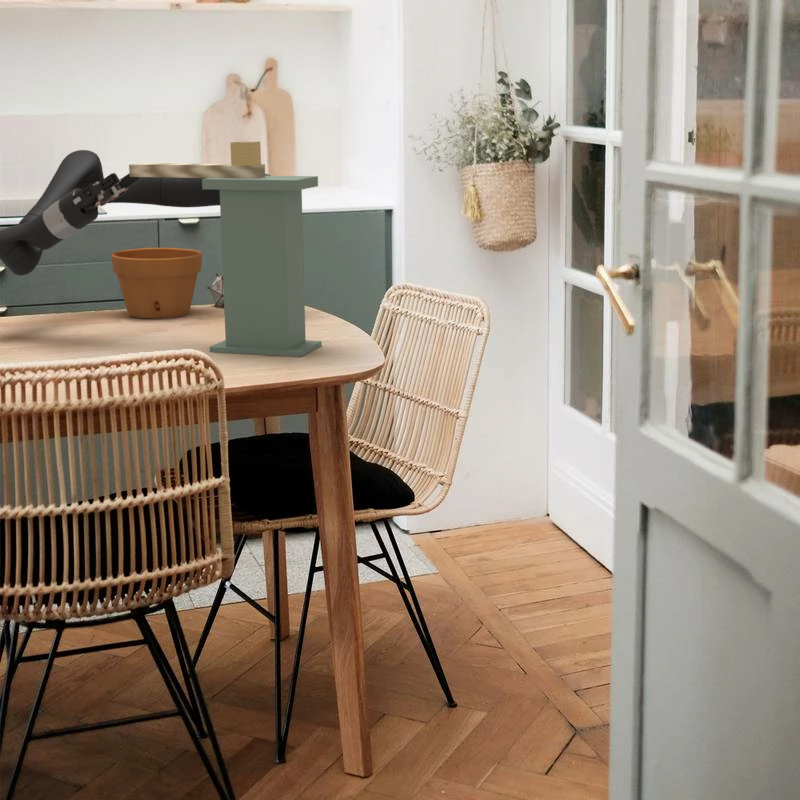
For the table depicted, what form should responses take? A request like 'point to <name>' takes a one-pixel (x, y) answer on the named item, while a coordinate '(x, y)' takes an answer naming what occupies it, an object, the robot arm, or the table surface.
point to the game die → (217, 290)
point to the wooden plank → (196, 170)
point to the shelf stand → (263, 264)
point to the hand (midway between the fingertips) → (127, 175)
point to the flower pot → (157, 280)
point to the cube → (245, 153)
